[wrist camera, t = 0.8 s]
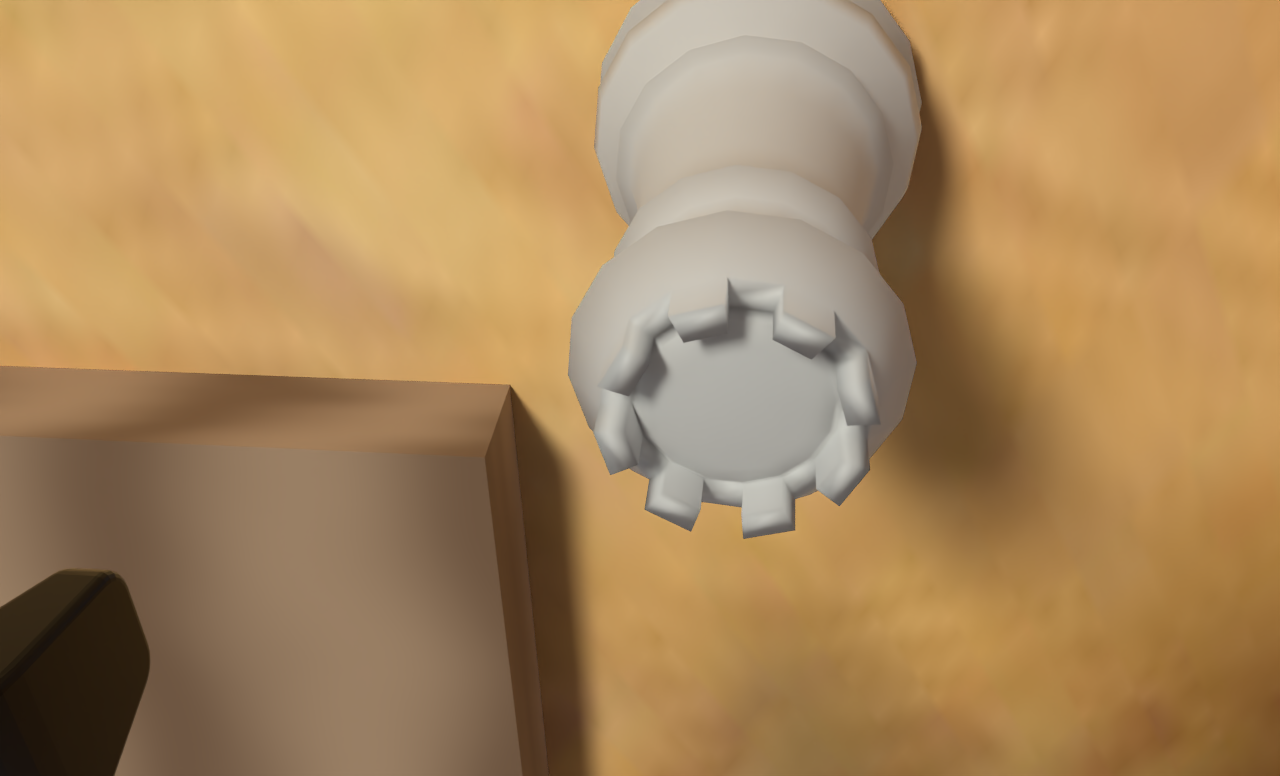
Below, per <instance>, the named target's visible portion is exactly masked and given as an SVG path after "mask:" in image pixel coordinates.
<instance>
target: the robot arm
mask: <svg viewBox="0 0 1280 776" xmlns="http://www.w3.org/2000/svg"><path fill="white" fill-rule="evenodd" d="M149 671H150V650H149V646H148V642H147V639H146V637H145V634H144V631H143V628H142V625H141V622H140V620H139V617H138V614H137V611H136V608H135V605H134V603H133V600H132V597H131V594H130V591H129V589H128V586H127V584H126V582H125V580H124V579H123V578H122V577H121V576H120V575H119V574H118V573H117V572H114V571H111V570H100V569H81V568H70V569H63V570H60V571H58V572H56V573H54V574H52V575H51V576H49V577H47V578H46V579H44V580H43V581H41V582H39V583H38V584H36V585H35V586H33V587H31V588H30V589H28V590H27V591H25V592H23V593H22V594H20V595H19V596H17V597H15V598H14V599H12V600H11V601H9V602H7V603H6V604H4V605H3V606H1V607H0V776H115V773H116V770H117V767H118V764H119V761H120V758H121V756H122V753H123V750H124V747H125V744H126V741H127V738H128V735H129V733H130V730H131V727H132V724H133V721H134V718H135V715H136V712H137V710H138V707H139V704H140V701H141V698H142V695H143V692H144V689H145V687H146V684H147V680H148V677H149Z"/></svg>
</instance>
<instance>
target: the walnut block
mask: <svg viewBox="0 0 1280 776" xmlns="http://www.w3.org/2000/svg"><path fill="white" fill-rule="evenodd" d="M70 568H81V569H100V570H111V571H114V572H117V573H118V574H119V575H120V576H121V577H122V578H123V579H124V580H125V582H126V584H127V586H128V589H129V591H130V594H131V597H132V600H133V603H134V605H135V608H136V611H137V614H138V617H139V620H140V622H141V625H142V628H143V631H144V634H145V637H146V639H147V642H148V646H149V650H150V671H149V677H148V680H147V684H146V687H145V689H144V692H143V695H142V698H141V701H140V704H139V707H138V710H137V712H136V715H135V718H134V721H133V724H132V727H131V730H130V733H129V735H128V738H127V741H126V744H125V747H124V750H123V753H122V756H121V758H120V761H119V764H118V767H117V770H116V773H115V776H549V768H548V758H547V748H546V738H545V728H544V718H543V709H542V699H541V689H540V679H539V669H538V659H537V649H536V639H535V629H534V619H533V609H532V599H531V589H530V579H529V569H528V559H527V549H526V539H525V529H524V519H523V509H522V499H521V489H520V479H519V469H518V459H517V449H516V440H515V430H514V420H513V410H512V400H511V390H510V385H501V384H474V383H447V382H420V381H393V380H366V379H339V378H312V377H285V376H258V375H231V374H204V373H177V372H150V371H123V370H96V369H69V368H42V367H15V366H0V607H1V606H3V605H4V604H6V603H7V602H9V601H11V600H12V599H14V598H15V597H17V596H19V595H20V594H22V593H23V592H25V591H27V590H28V589H30V588H31V587H33V586H35V585H36V584H38V583H39V582H41V581H43V580H44V579H46V578H47V577H49V576H51V575H52V574H54V573H56V572H58V571H60V570H63V569H70Z"/></svg>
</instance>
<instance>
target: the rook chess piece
mask: <svg viewBox="0 0 1280 776" xmlns="http://www.w3.org/2000/svg"><path fill="white" fill-rule="evenodd" d="M921 104H922V101H921V96H920V91H919V86H918V81H917V76H916V70H915V65H914V60H913V55H912V50H911V45H910V41H909V40H908V38H907V37H906V35H905V34H904V33H903V31H902V30H901V28H900V27H899V26H898V24H897V23H896V21H895V20H894V19H893V17H892V16H891V14H890V13H889V12H888V10H887V9H886V7H885V6H884V5H883V3H882V2H881V0H640V1H639V2H638V3H636V4H635V5H634V6H633V7H631V9H630V11H629V13H628V15H627V17H626V19H625V20H624V22H623V24H622V26H621V28H620V30H619V32H618V34H617V36H616V38H615V40H614V41H613V43H612V45H611V47H610V49H609V51H608V53H607V55H606V57H605V59H604V61H603V62H602V71H601V84H600V86H599V88H598V102H597V115H596V129H595V143H594V148H595V151H596V154H597V157H598V160H599V163H600V166H601V169H602V172H603V174H604V177H605V180H606V183H607V186H608V189H609V192H610V195H611V197H612V200H613V203H614V206H615V209H616V211H617V213H618V214H619V215H620V216H621V217H622V219H623V220H624V221H625V222H626V223H627V224H628V225H629V227H628V229H627V230H626V232H625V234H624V236H623V237H622V239H621V241H620V242H619V244H618V246H617V247H616V249H615V252H614V258H612V259H611V260H609V261H608V262H606V263H605V264H604V265H602V267H601V269H600V270H599V272H598V274H597V276H596V277H595V279H594V281H593V282H592V284H591V286H590V288H589V289H588V291H587V293H586V294H585V296H584V298H583V300H582V301H581V303H580V305H579V306H578V308H577V310H576V312H575V313H574V315H573V317H572V324H571V339H570V353H569V368H568V376H569V378H570V381H571V383H572V386H573V388H574V391H575V393H576V396H577V398H578V401H579V403H580V406H581V408H582V411H583V413H584V416H585V418H586V421H587V423H588V426H589V428H590V429H591V430H592V431H593V433H594V435H595V438H596V440H597V443H598V445H599V448H600V450H601V453H602V455H603V458H604V460H605V463H606V465H607V468H608V470H609V473H610V475H612V474H615V473H617V472H620V471H623V470H625V469H628V468H630V469H631V470H632V471H634V472H636V473H638V474H640V475H642V476H644V477H646V478H648V479H649V485H648V492H647V498H646V504H645V510H647V511H649V512H651V513H653V514H655V515H657V516H659V517H661V518H663V519H666V520H668V521H670V522H672V523H674V524H676V525H678V526H680V527H682V528H685V529H687V530H689V531H692V528H693V526H694V523H695V521H696V519H697V516H698V514H699V512H700V509H701V502H707V503H714V504H721V505H729V506H736V507H742V527H743V539H745V538H751V537H757V536H763V535H769V534H775V533H781V532H787V531H793V530H795V499H797V498H800V497H803V496H807V495H810V494H812V493H814V492H816V491H820V492H821V493H822V494H824V495H825V496H826V497H828V498H829V499H830V500H832V501H833V502H834V503H836V504H837V505H838V506H840V505H841V504H842V503H843V501H844V500H845V499H846V498H847V497H848V495H849V494H850V493H851V492H852V491H853V489H854V488H855V487H856V486H857V485H858V483H859V482H860V481H861V480H862V479H863V477H864V476H865V475H866V474H867V473H868V471H869V470H870V464H869V459H870V458H871V457H872V455H873V454H874V453H875V452H876V450H877V449H878V448H879V447H880V446H881V444H882V443H883V442H884V441H885V440H886V438H887V437H888V436H889V435H890V434H891V432H892V431H893V430H894V429H895V427H896V426H897V425H898V424H899V423H900V421H901V420H902V419H903V415H904V411H905V407H906V403H907V399H908V395H909V392H910V388H911V384H912V380H913V376H914V372H915V368H916V365H917V361H916V357H915V352H914V348H913V343H912V339H911V334H910V330H909V325H908V321H907V317H906V312H905V308H904V304H903V303H902V302H901V300H900V299H899V298H898V296H897V295H896V294H895V293H894V291H893V290H892V289H891V288H890V286H889V285H888V284H887V283H886V281H885V280H884V279H883V278H882V276H881V275H880V273H879V269H878V264H877V260H876V256H875V251H874V247H873V243H872V239H873V238H874V236H875V235H876V233H877V232H878V231H879V229H880V228H881V226H882V225H883V224H884V222H885V221H886V220H887V218H888V217H889V215H890V214H891V213H892V211H893V210H894V209H895V207H896V206H897V204H898V203H899V202H900V200H901V199H902V198H903V196H904V194H905V192H906V190H907V189H908V186H909V182H910V178H911V173H912V169H913V165H914V160H915V156H916V152H917V147H918V143H919V139H920V134H921V130H922V125H921V120H920V115H919V113H920V109H921Z"/></svg>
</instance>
